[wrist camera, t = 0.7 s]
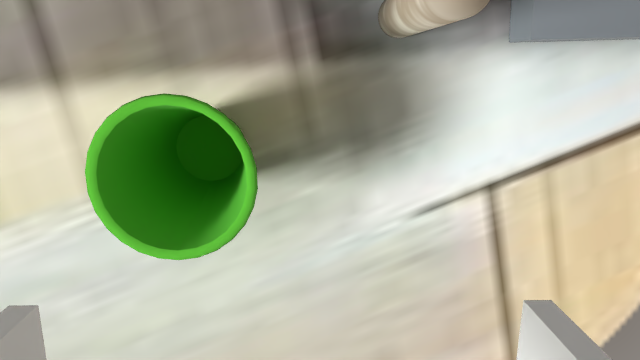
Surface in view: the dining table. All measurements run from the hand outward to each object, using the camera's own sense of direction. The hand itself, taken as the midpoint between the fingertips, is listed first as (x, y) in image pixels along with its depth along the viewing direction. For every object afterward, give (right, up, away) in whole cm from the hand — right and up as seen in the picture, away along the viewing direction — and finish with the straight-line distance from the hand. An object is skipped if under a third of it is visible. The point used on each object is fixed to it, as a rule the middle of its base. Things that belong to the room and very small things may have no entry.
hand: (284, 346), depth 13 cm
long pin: (+7, +16, +21) cm, 27 cm away
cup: (-7, +7, +23) cm, 25 cm away
